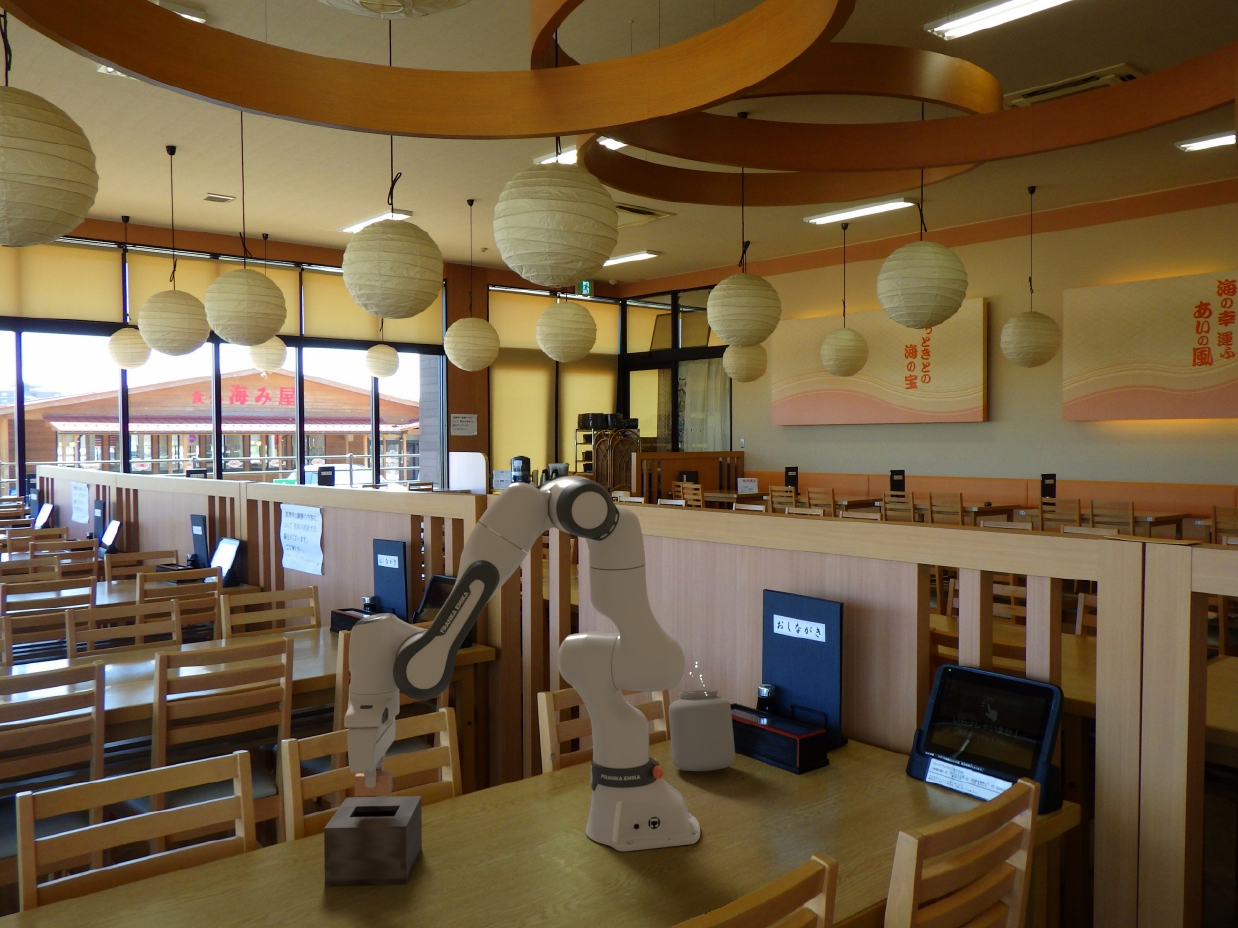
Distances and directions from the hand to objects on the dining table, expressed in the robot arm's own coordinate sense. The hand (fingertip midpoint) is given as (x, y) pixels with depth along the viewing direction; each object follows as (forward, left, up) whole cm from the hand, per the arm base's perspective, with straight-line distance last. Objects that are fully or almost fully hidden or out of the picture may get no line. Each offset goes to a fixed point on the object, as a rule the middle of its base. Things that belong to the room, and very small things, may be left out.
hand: (374, 781), depth 159 cm
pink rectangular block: (0, 0, -2) cm, 2 cm away
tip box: (0, 0, -15) cm, 15 cm away
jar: (-65, -48, -16) cm, 83 cm away
